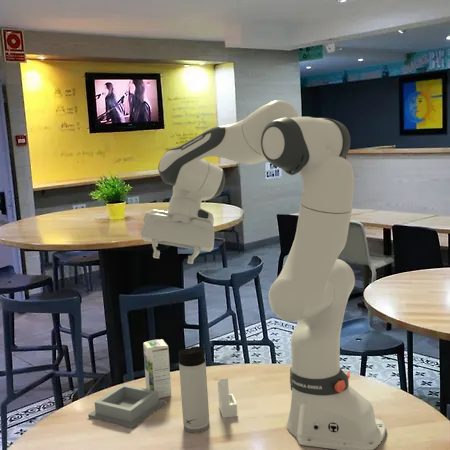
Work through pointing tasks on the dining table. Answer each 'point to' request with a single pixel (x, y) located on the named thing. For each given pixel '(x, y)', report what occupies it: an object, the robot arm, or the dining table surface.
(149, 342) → the syrup box
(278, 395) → the dining table surface
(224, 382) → the white angled block
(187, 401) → the travel mug
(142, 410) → the holder
